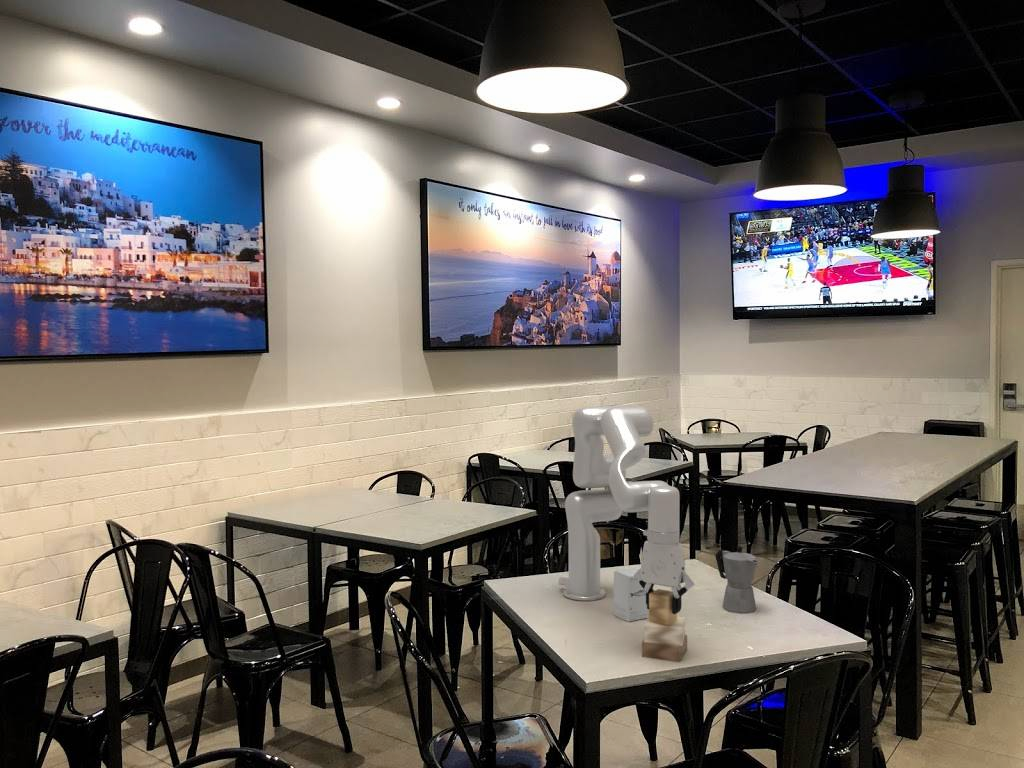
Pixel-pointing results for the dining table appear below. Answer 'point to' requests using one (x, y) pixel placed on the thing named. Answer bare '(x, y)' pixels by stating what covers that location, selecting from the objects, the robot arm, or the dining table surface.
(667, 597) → the oak block
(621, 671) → the dining table surface
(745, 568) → the coffeepot
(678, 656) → the walnut slab
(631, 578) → the supplement box
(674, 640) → the maple slab
